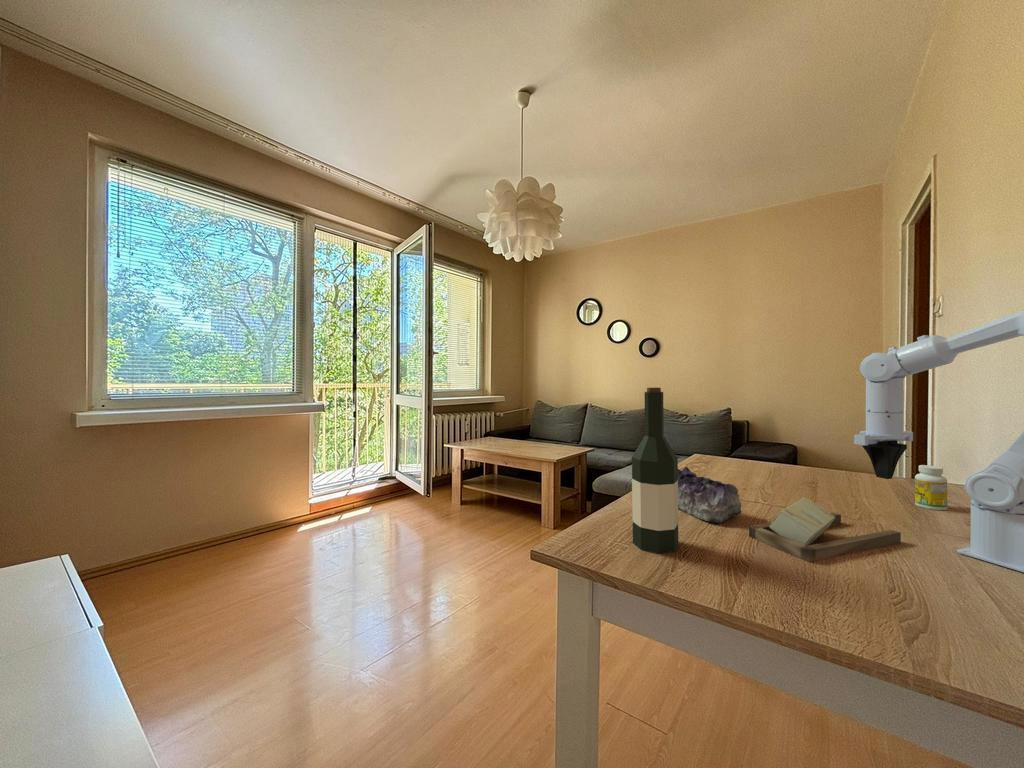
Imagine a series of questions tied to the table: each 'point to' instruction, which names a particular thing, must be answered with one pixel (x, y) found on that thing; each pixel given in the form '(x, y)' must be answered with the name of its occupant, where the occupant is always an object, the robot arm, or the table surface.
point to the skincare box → (802, 521)
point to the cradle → (827, 548)
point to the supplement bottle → (931, 488)
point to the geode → (707, 497)
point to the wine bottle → (655, 483)
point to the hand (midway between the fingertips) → (884, 477)
